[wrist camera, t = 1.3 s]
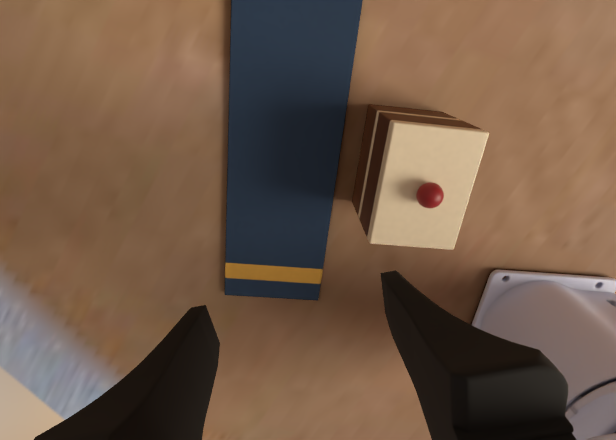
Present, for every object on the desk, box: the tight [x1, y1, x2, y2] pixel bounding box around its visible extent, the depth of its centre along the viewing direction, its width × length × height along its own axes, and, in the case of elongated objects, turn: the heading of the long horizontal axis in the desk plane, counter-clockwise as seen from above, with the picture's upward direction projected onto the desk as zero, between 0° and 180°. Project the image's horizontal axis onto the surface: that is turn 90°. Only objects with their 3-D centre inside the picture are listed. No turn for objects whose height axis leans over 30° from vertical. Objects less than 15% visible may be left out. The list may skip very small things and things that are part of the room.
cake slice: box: [352, 104, 489, 250], centre depth 20 cm, size 4×6×7 cm
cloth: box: [225, 0, 362, 300], centre depth 22 cm, size 6×22×1 cm, turn 174°
